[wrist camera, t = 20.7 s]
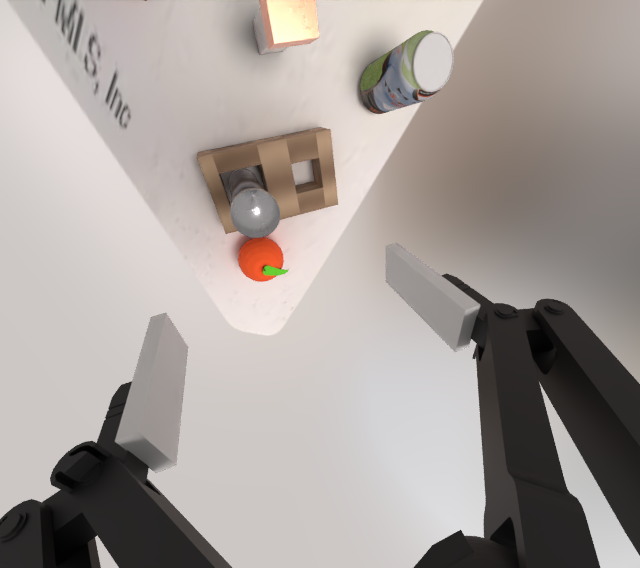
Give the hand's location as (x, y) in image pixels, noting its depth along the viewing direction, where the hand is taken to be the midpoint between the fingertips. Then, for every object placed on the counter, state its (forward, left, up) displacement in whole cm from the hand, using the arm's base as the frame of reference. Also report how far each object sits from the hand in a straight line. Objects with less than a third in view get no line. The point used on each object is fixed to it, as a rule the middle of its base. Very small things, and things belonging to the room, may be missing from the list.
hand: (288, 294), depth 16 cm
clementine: (+11, 0, -29) cm, 31 cm away
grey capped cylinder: (0, 0, -29) cm, 29 cm away
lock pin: (-15, +8, -29) cm, 33 cm away
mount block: (0, +4, -29) cm, 29 cm away
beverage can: (-9, +22, -29) cm, 37 cm away
